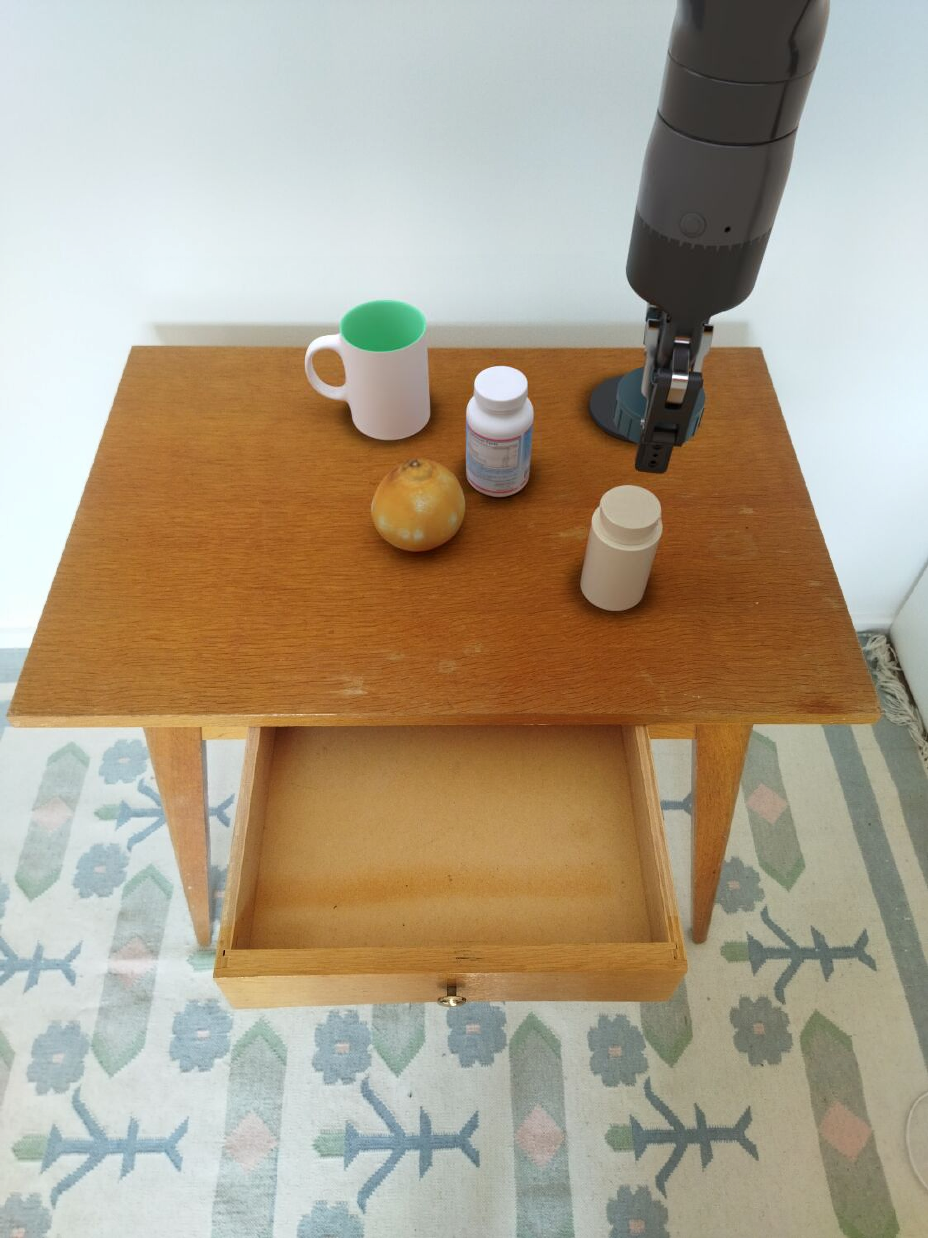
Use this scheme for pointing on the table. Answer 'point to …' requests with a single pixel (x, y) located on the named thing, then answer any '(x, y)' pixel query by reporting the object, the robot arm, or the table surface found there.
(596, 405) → the coaster
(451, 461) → the table surface
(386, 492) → the fruit
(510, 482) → the pill bottle
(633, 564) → the jar
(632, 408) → the lid
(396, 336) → the mug
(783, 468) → the table surface
